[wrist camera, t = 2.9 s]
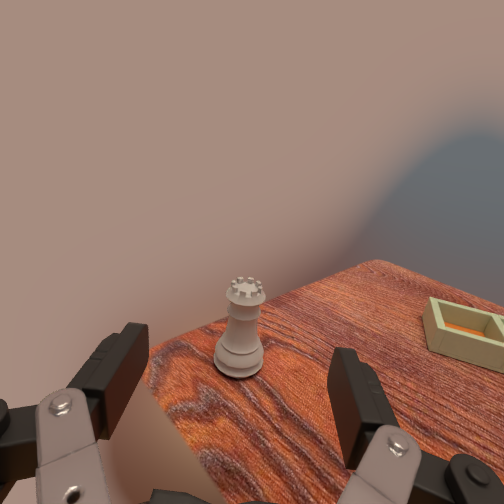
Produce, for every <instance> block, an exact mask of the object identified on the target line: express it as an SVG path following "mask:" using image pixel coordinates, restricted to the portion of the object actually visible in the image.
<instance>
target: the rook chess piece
mask: <svg viewBox="0 0 504 504" xmlns="http://www.w3.org/2000/svg"><path fill="white" fill-rule="evenodd" d="M253 281H254V278H250V277H248V282H243V278H242V277H239V278H237V283H236V281H235V280H233V281H232V283H231V287H230V288H229V289H228V290H227V291H226V297H227V298H228V300H229V301H230V302H231V304H230V305H229V306H228V308H227V311H228V313H229V319H228V323H227V327H226V331H225V332H224V333H223V335H222V336H221V338H220V339H219V340H218V342H217V344H216V346H215V353H214V363H215V364H216V366H217V367H218V369H219V370H220V371H221V372H223V373H224V374H225V375H227V376H230V377H233V378H246V377H249V376H251V375H253V374H255V373H256V372H257V371H258V370H259V369H260V368H261V367H262V364H263V358H262V357H263V354H264V352H263V347H262V343H261V342H260V339H259V337H258V335H257V320H258V317H259V316H260V314H261V311H260V308H259V305H260V304H262V303H263V302H264V301H265V298H266V296H265V293H264V292H263V290H262V288H263V286H261V285H262V283H261V282H260V281H256V284H254V283H253Z"/></svg>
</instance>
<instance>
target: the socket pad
mask: <svg viewBox="0 0 504 504" xmlns="http://www.w3.org/2000/svg"><path fill="white" fill-rule="evenodd" d="M422 320H423V325H424V330H425V335H426V340H427V345H428V350H429V351H433V352H436V353H439V354H442V355H445V356H449V357H452V358H455V359H458V360H461V361H465V362H468V363H471V364H474V365H477V366H481V367H484V368H487V369H490V370H493V371H497V372H500V373H503V374H504V316H501V315H497V314H493V313H489V312H486V311H482V310H478V309H474V308H470V307H467V306H463V305H459V304H455V303H451V302H447V301H444V300H440V299H436V298H432V297H429V299H428V302H427V304H426V307H425V310H424V312H423V315H422Z"/></svg>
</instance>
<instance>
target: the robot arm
mask: <svg viewBox="0 0 504 504" xmlns="http://www.w3.org/2000/svg"><path fill="white" fill-rule="evenodd" d="M148 338H149V336H148V325H147V324H139V323H131V322H129V323H128V324H127V325H126V326H125V328H124V329H123V331H122V332H121V333H120V334H118V333H113V334H111V335H110V336H108V337H107V338H105V339H104V340H103V341H102V342H101V343H100V345H99V346H98V347H97V348H96V350H95V352H93V353H92V355H91V356H90V358H89V359H88V360H87V361H86V362H85V364H84V365H83V366H82V368H81V369H80V370H79V372H78V373H77V374H76V375H75V377H74V378H73V379H72V381H71V382H70V383H69V384H68V386H67V387H66V388H65V389H61V390H58V391H55V392H53V393H51V394H49V395H48V396H46V397H45V398H44V399H43V400H42V401H41V402H40V403H39V404H38V405H33V406H27V407H20V408H13V409H8V406H7V403H6V402H5V401H4V400H3V399H0V504H2V502H3V500H4V499H5V498H6V496H7V495H8V493H9V491H10V490H11V488H12V487H13V486H14V484H15V482H16V481H17V480H22V479H26V478H31V477H36V492H37V493H36V494H37V504H111V500H110V496H109V491H108V488H107V483H106V479H105V474H104V470H103V466H102V462H101V457H100V452H99V448H98V445H97V440H98V439H104V440H109V439H110V437H111V435H112V433H113V432H114V429H115V428H116V426H117V424H118V421H119V419H120V418H121V416H122V414H123V412H124V410H125V408H126V406H127V404H128V402H129V400H130V398H131V396H132V394H133V392H134V390H135V388H136V386H137V384H138V382H139V380H140V378H141V376H142V374H143V372H144V370H145V368H146V366H147V362H148V358H149V339H148ZM380 384H381V383H380V381H379V379H378V377H377V374H376V372H375V371H374V370H373V369H372V368H371V367H370V366H369V365H368V364H367V363H362V362H360V361H359V358H358V356H357V353H356V351H355V349H350V348H342V347H336V348H335V350H334V353H333V357H332V361H331V364H330V368H329V372H328V377H327V388H328V393H329V398H330V402H331V406H332V411H333V415H334V420H335V424H336V428H337V433H338V437H339V441H340V446H341V450H342V454H343V459H344V463H345V467H346V469H350V470H356V471H355V472H353V474H352V475H351V477H350V479H349V481H348V483H347V485H346V487H345V489H344V491H343V492H342V494H341V496H340V498H339V500H338V502H337V504H504V485H503V484H502V482H501V480H500V479H499V477H498V476H497V475H496V474H495V472H494V471H493V470H492V469H491V468H489V467H488V466H487V465H486V464H485V463H483V462H482V461H480V460H478V459H477V458H475V457H473V456H470V455H467V454H456V455H454V456H453V457H452V458H451V460H450V462H449V461H447V460H444V459H442V458H439V457H437V456H434V455H432V454H429V453H427V452H425V451H423V450H421V449H420V447H419V445H418V444H417V442H416V441H415V439H414V438H413V437H412V436H411V435H410V434H408V433H407V432H406V431H404V430H402V429H401V428H400V426H399V424H398V422H397V419H396V417H395V415H394V413H393V410H392V408H391V406H390V404H389V401H388V399H387V397H386V395H385V394H384V393H385V392H384V390H383V388H382V386H381V385H380ZM140 504H210V503H208V502H206V501H204V500H201V499H199V498H197V497H195V496H192V495H190V494H188V493H184V492H175V491H167V490H158V489H153V492H152V495H151V498H150V501H147V502H143V503H140ZM240 504H277V503H269V502H260V501H250V502H245V503H240Z"/></svg>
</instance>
